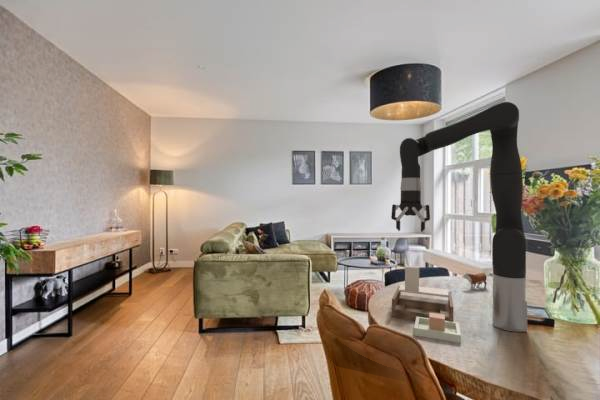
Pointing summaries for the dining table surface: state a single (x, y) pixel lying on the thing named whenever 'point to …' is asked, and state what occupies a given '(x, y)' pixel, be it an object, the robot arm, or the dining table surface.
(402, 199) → the robot arm
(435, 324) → the terracotta block
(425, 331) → the sage tray
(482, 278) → the bull figurine
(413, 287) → the cover
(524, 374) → the dining table surface
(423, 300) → the brown wooden box
